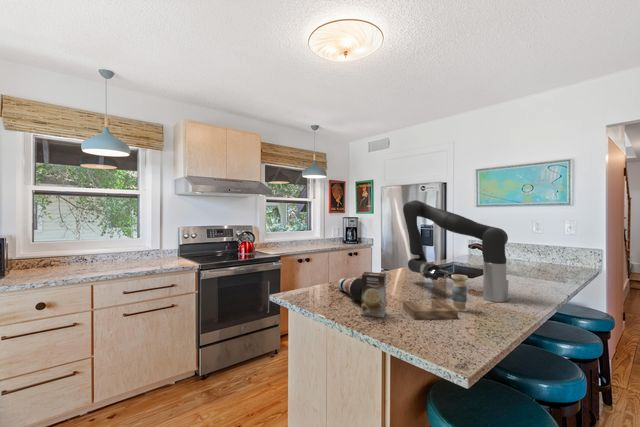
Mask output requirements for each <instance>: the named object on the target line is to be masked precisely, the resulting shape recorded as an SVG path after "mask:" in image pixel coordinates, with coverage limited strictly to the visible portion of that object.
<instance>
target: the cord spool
mask: <svg viewBox="0 0 640 427" xmlns="http://www.w3.org/2000/svg"><path fill="white" fill-rule="evenodd" d="M451 278H452V279H453V280H452V279H451V280H452V281H453V282H452V283H453V284H452V286H451V287H452V288H451V289H452V292H451V293H452V295H451V297H452V299H451V300H452V301H453V304H452V305H451V306H452V307H453V308H455V309H456V310H458V313H459V312H460V313H466V312H468V310H469V308H468V307H467V306H466V302H467V298H468V297H467V295H468V294H467V293H468V292H467V290H468V289H467V286H468V285H467V284H466V283H467V282H466V281H468V278H469V277H468V275H465V274H455V275H451Z"/></svg>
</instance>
